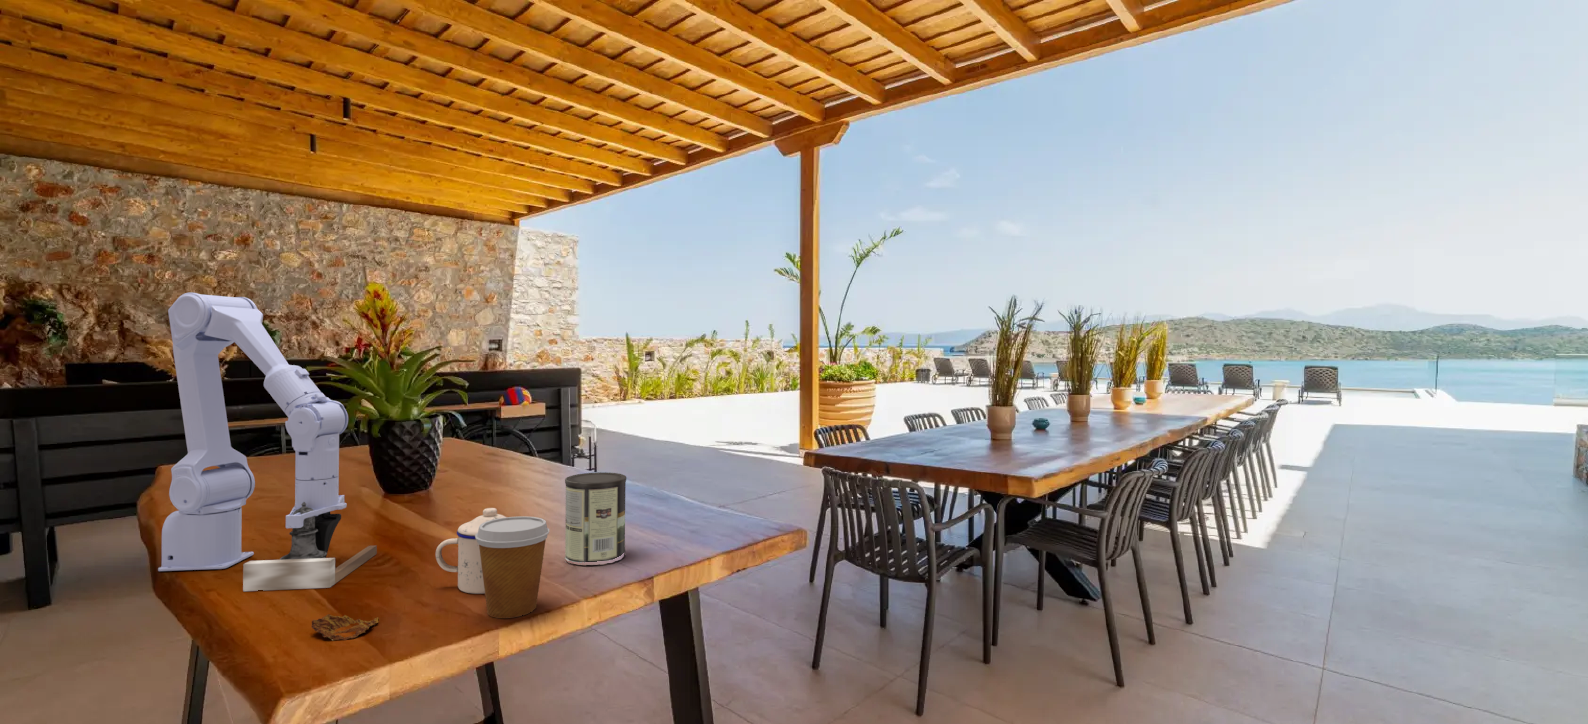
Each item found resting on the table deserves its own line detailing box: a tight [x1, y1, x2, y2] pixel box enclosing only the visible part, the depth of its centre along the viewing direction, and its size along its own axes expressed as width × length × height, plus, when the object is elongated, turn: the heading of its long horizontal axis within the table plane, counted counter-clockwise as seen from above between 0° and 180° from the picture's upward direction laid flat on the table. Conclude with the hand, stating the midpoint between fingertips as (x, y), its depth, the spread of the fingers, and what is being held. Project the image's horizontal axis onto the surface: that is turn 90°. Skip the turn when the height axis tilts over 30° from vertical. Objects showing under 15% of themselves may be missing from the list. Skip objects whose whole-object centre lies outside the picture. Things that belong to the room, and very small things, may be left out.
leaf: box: [311, 613, 380, 641], centre depth 86 cm, size 6×7×2 cm
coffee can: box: [564, 471, 627, 563], centre depth 118 cm, size 10×10×14 cm
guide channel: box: [242, 544, 378, 592], centre depth 108 cm, size 11×17×4 cm
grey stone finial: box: [279, 502, 328, 560], centre depth 104 cm, size 6×6×12 cm
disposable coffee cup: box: [475, 515, 550, 619], centre depth 94 cm, size 10×10×12 cm
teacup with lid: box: [435, 507, 507, 595], centre depth 103 cm, size 12×9×12 cm
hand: (316, 561), depth 109 cm, fingers closed
